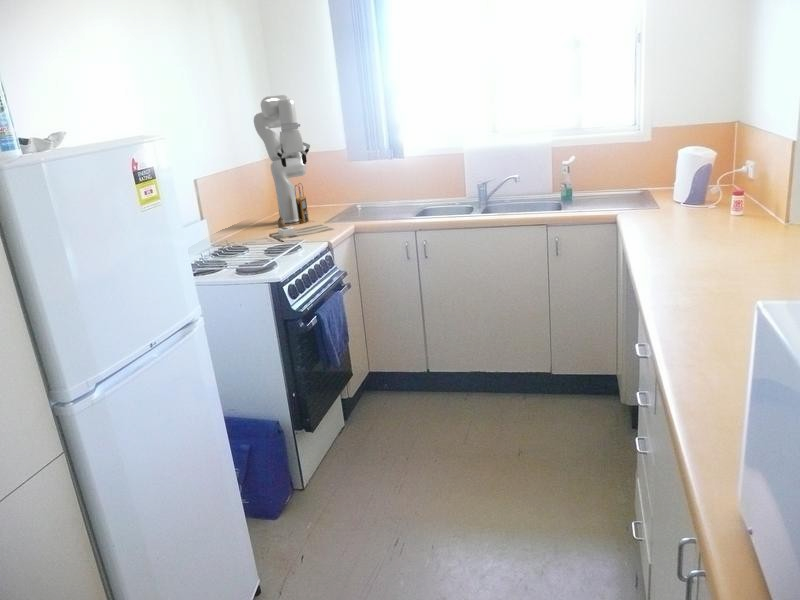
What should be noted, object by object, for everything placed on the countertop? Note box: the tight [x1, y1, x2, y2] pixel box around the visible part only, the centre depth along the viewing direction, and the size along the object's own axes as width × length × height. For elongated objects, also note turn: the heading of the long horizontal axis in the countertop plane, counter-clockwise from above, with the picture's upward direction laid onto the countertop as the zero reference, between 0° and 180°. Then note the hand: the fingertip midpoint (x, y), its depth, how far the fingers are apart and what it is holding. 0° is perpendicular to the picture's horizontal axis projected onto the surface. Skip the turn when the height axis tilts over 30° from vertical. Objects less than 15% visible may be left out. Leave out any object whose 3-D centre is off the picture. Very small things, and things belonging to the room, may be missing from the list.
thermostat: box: [277, 226, 296, 237], centre depth 301 cm, size 6×6×3 cm
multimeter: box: [294, 182, 310, 225], centre depth 328 cm, size 15×10×20 cm
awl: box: [277, 208, 286, 229], centre depth 307 cm, size 3×3×11 cm
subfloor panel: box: [268, 224, 336, 243], centre depth 306 cm, size 18×26×1 cm
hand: (294, 165), depth 309 cm, fingers open, 9 cm apart
